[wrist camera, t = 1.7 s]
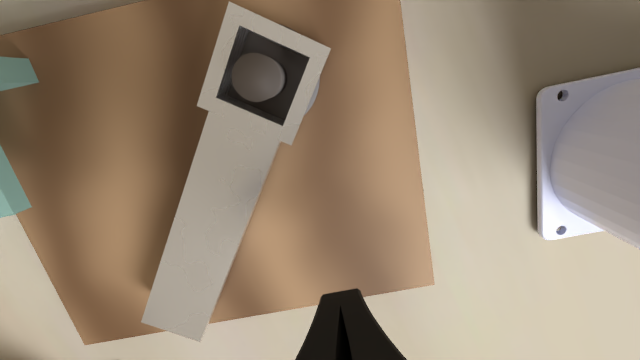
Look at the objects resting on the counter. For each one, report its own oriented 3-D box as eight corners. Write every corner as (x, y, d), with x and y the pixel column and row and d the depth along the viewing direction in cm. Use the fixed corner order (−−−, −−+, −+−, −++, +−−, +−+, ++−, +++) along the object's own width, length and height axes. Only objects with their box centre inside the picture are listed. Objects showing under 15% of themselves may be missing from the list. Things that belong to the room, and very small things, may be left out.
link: (239, 10, 13) (228, 1, 12) (330, 51, 14) (330, 48, 12) (147, 297, 17) (130, 318, 16) (219, 322, 18) (209, 344, 16)
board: (386, -49, 14) (416, -106, 10) (427, 271, 19) (459, 330, 14) (-40, 54, 15) (-183, 44, 11) (98, 329, 20) (36, 399, 16)
